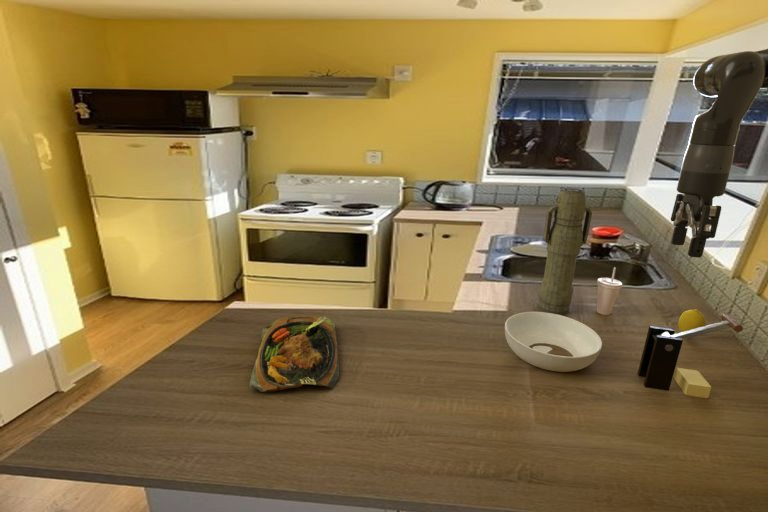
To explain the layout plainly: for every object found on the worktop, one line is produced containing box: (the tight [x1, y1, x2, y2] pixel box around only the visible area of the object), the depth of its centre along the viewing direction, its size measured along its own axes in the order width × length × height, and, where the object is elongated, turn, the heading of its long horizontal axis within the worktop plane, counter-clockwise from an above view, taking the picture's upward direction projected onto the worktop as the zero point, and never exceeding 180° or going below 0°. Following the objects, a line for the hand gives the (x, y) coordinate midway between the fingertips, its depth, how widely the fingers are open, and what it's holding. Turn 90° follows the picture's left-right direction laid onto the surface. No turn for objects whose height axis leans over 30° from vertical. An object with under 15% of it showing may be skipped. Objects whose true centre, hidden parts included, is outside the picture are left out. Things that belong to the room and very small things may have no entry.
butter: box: [673, 367, 712, 399], centre depth 87 cm, size 6×9×4 cm, turn 166°
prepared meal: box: [248, 316, 340, 393], centre depth 97 cm, size 28×4×18 cm
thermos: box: [537, 187, 593, 315], centre depth 120 cm, size 9×12×35 cm
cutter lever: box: [652, 313, 744, 341], centre depth 84 cm, size 14×5×2 cm, turn 78°
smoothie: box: [596, 266, 623, 316], centre depth 121 cm, size 6×6×14 cm
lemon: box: [677, 308, 706, 333], centre depth 109 cm, size 6×6×8 cm
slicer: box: [637, 325, 684, 392], centre depth 87 cm, size 8×9×13 cm
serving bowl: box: [504, 311, 603, 373], centre depth 98 cm, size 21×21×7 cm
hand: (685, 250), depth 85 cm, fingers open, 8 cm apart
